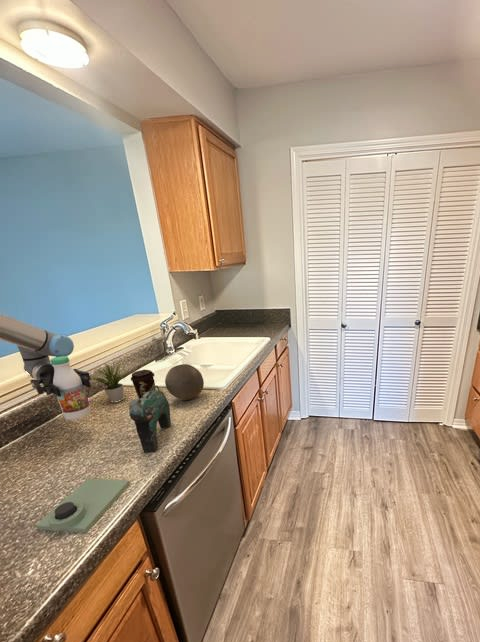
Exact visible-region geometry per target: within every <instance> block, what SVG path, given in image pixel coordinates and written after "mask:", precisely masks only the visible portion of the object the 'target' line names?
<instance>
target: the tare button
mask: <svg viewBox="0 0 480 642" xmlns="http://www.w3.org/2000/svg"><path fill="white" fill-rule="evenodd" d="M57 506H58V505H57ZM57 506H56V507H57ZM56 507H55V508H56ZM55 508H54V509H55ZM75 512H76V508H75V506H74V503H72V502H67V503H63V504H61V505H60V506H58V507H57V508H56V509H55V514H56V517H57V519H59V520H62V519H65V518H68V517H70V516H71V515H73V514H74V513H75Z"/></svg>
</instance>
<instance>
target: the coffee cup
mask: <svg viewBox="0 0 480 642" xmlns="http://www.w3.org/2000/svg"><path fill="white" fill-rule="evenodd" d="M154 377H155V373H154V372H153V371H152V370H150V369H140V370H137V371H133V372H132V373H131V376H130V381H131V382H132V384H133V387H134V391H135V392H136V395H137V399H141V398H142V396H141V393H140V387H141V385H142V384H146V386H145V385H143V386H142V391H141V392H142V395H144V394H145V393H147V392H148V391H150V389H151V388H152V387H153V386H156V382H155V379H154ZM155 390H156V387H155V388H153V389H152V391H155Z"/></svg>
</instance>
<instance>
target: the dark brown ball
mask: <svg viewBox="0 0 480 642" xmlns="http://www.w3.org/2000/svg"><path fill="white" fill-rule="evenodd" d="M166 373H167V374H166V375H165V380H164V382H165V383H164V384H165V388H166V389H167V391H168V393H169V394H170V395H171V396H173V397H174V398H176V399H178V400H181V401H190V400H193V399H196V398H197V397H199V395H200V394H202V392H203V390H204V386H205V385H204V384H205V382H204V378H203V374H202V373H201V372H200V371H199V370H198V369H197V367H196V366H193V365H192V364H188V363H182V364H177V365H175V366H172V367H171V368H170V369H169V370H168V372H166Z"/></svg>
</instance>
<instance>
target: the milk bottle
mask: <svg viewBox="0 0 480 642" xmlns="http://www.w3.org/2000/svg"><path fill="white" fill-rule="evenodd" d="M50 362H51V363H52V366H53V367H54V378H53V385H55V386H56V387H58V388H59V390H60V393H61V396H60V397H58V396H57V395H55V396H56V398H57V402H58V404H59V407H60V410H61V412H62V415H63V418H64V420H68V421H74V420H81V419H83V418H85V417H87V416H89V415H91V413H92V408H91V404H90V401H89V398H88V394H87V392H86V389H85V386H84V385H83V383H82V380H81V378H80V377H79V375H78V374H77V373H76V372H75V371H74V370H73V369H74V368H72V366H71V362H70V358H69V356H59V357H55V356H54V357H52V358H51V359H50Z"/></svg>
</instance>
